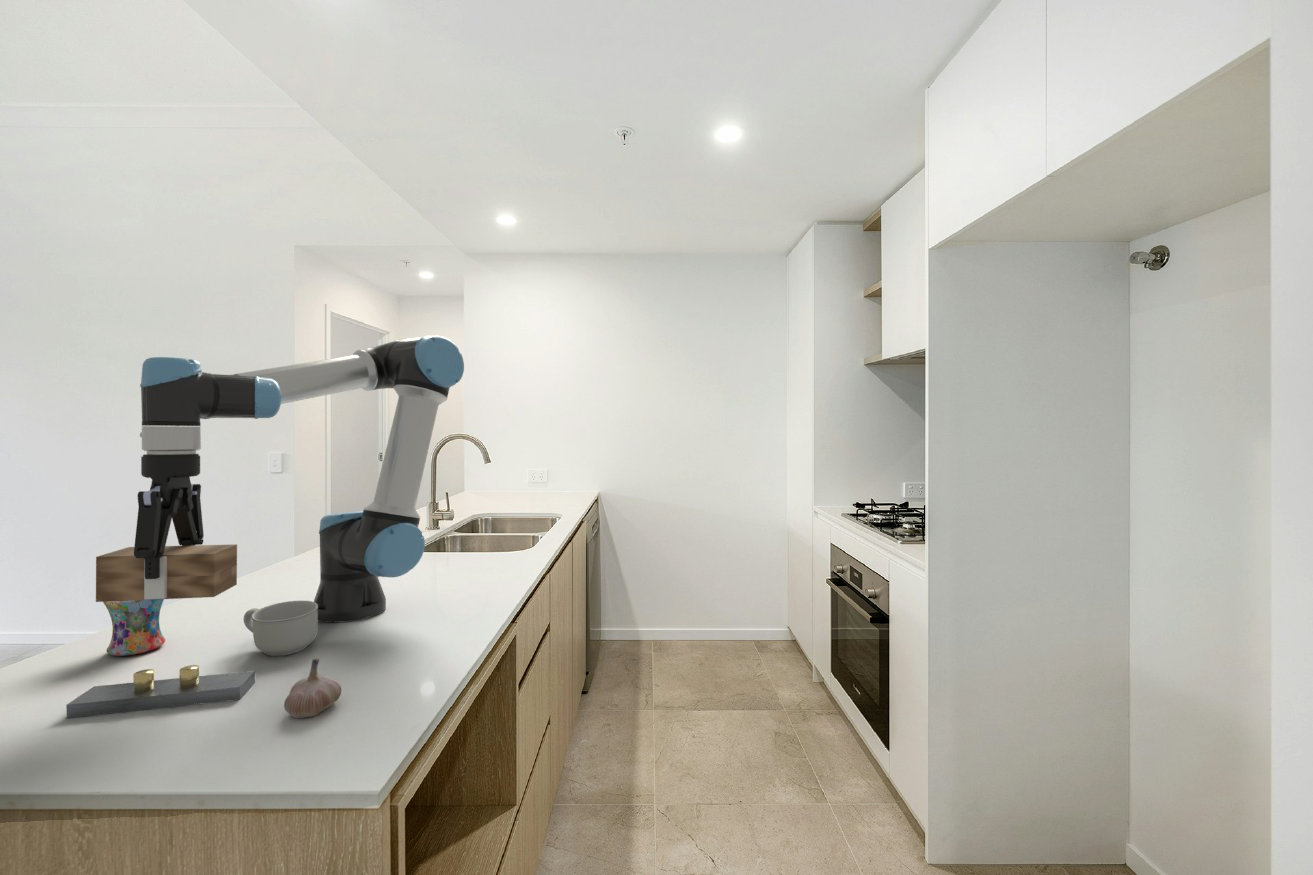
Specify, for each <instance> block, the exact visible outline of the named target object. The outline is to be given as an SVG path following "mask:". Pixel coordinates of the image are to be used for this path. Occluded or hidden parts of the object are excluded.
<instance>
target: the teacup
mask: <svg viewBox="0 0 1313 875" xmlns="http://www.w3.org/2000/svg"><path fill="white" fill-rule="evenodd" d="M317 609H318V605H317V603H315V602H314V601H312V600H289V601H284V602H277V603H274V604H270V605H267V606H264V607H262V608H258V607H257V608H256V607H255V608H253V607H252V608H251V609H249V610H247V611H246V612H245V613H244V615H243V623H244V626H245V628H246V629H247V630H248V631H249V632H250V633H252V636H253V642H254V646H255V647H256V649H257V650H259V651H260V652H262V653H264V654H266V655H268V656H272V657H282V656H287V655H292V654H295V653H298V652H301V651H303V650H305V649H306V648H307V646H309V645H310V644H311V643H312V642H313V641H314V640H315V638H316V636H317V634H318V628H319V625H318V624H319V623H318V622H319V621H318V612H317Z"/></svg>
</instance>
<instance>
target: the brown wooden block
mask: <svg viewBox="0 0 1313 875" xmlns="http://www.w3.org/2000/svg"><path fill="white" fill-rule="evenodd" d="M163 556H167V598H165V599H164V600H173V599H180V600H181V599H198V598H199V599H201V598H214V597H216V596H219V595H221V594H222V593H224V592H226V591H227V590H230V589H231V588H233V587H235V586H237V585H238V584H237V582H238V581H237V580H238V576H237V575H238V563H237V562H238V544H237V543H236V544H235V543H234V544H202V545H192V546H182V545H165V550H164V554H163ZM95 557H96V558H95V603H103V602H108V601H132V600H144V558H136V557H135V556H134V546H128V547H124V548H122V549H121V548H120V549H118V550H115V551H111V552H107V553H105V554H101V555H98V556H95ZM145 600H156V599H145Z"/></svg>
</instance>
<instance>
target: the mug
mask: <svg viewBox="0 0 1313 875" xmlns="http://www.w3.org/2000/svg"><path fill="white" fill-rule="evenodd" d="M164 600H165V599H156V600H132V601H108V602H102V603H103V604H104V606H105V607H106V609H107V611H108V614H109V616H110V619H111V625H112V631H111V632H112V633H111V639H110V642H109V645H108V646H107V649H106V650H105V651H106V653H107V654H109V655H111V656H119V657H120V656H122V657H123V656H124V657H125V656H134V655H139V654H143V653H147V652H150V651H153V650H155V649H157V648H159V647H161V646H162V645H164V644H165V643H166V638H165V637H164V635H163V633H162V630H161V627H160V626H161V625H160V613H161V610H162V606H163V604H164V602H165V601H164Z"/></svg>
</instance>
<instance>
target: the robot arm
mask: <svg viewBox="0 0 1313 875" xmlns="http://www.w3.org/2000/svg"><path fill="white" fill-rule="evenodd" d="M464 371H465V361H464V357H463V354H462V353H461V352H460V349H459V347H458V346H457V345H456V343H454V342H453V341H452V340H450V339H449V338H447V337H445V336H441V335H428V334H427V335H424V336H421V337H413V338H405V339H404V338H403V339H398V340H393V341H389V342H387V343H382V344H380V345H376V346H373V347H372V346H371V347H367V348H362V349H357V350H355V351H354V353H352V354H351V355H346V356H340V357H334V358H329V359H328V358H327V359H322V360H316V361H315V360H314V361H309V362H303V363H297V364H295V363H294V364H290V365H283V366H277V367H271V368H263V369H257V370H252V371H244V372H239V373H234V374H219V373H218V374H217V373H210V372H209V373H207V372H203V370H202V367H201V363H200V361H198V360H196V359H192V358H191V359H189V358H183V357H171V356H170V357H168V356H167V357H166V356H155V357H154V356H153V357H148V358H146V359H145V360H144V361H143V362H142V368H141V379H140V385H139V386H140V387H139V388H140V394H141V397H140V398H141V399H140V400H141V431H140V433H139V437H140V438H141V450H142V451H144V452H146V453H145V454H143V455H142V456H140V458H141V460H140V461H141V464H140V466H141V467H140V468H141V469H140V472H141V473H140V474H141V476H142V477H143V478H147V479H149V478H150V479H151V484H150V487H149V490H147V491H146V490H145V491H140V490H139V491H138V492H137V503H138V508H137V518H136V520H137V521H136V526H135V527H136V529H135V536H134V537H135V540H134V546H133V547H134V556H135V557H136V558H144V600H145V599H164V600H166V599H165V598H167V556H163V554H164V550H165V546H167V545H166V544H167V540H168V536H169V531H170V527H171V524H172V523H173V528H174V530H175V534H176V538H177V542H178V546H192V545H204V544H203V543H204V536H205V535H204V526H203V525H204V524H203V516H202V514H203V512H202V504H201V503H202V502H201V501H202V500H201V494H202V493H201V492H202V490H201V489H202V485H201V484H200V483H193V484H192V482H191V477H197V476H199V475H200V474H201V455H200V454H199V453H197V451H200V450H201V449H202V445H201V444H202V441H201V439H202V438H201V427H202V426H201V419H202V420H207V419H208V420H209V419H254V420H257V419H271V418H273V417H275V416H276V415H278V412H279V411H280V408H281V405H283V404H287V403H293V402H298V401H303V400H304V401H305V400H308V399H314V398H318V397H324V396H328V395H334V394H338V393H343V392H348V391H354V390H358V389H362V390H364V391H367V392H370V391H375V390H381V389H382V390H385V389H393V390H394V391H395V393H396V394H397V397H398V398H397V404H396V407H395V412H394V415H393V416H394V417H393V420H392V424H391V427H390V432H389V436H388V440H387V445H386V449H385V453H384V457H383V460H382V465H381V469H380V472H379V478H378V482H377V485H376V489H375V493H374V494H375V495H374V497H373V501H372V502H371V503H370V504H368V505H367V506H365V507H363V510H358V511H348V512H340V513H332V514H326V515H324V516H323V517H321V519H320V522H319V530H318V534H319V566H320V567H319V569H320V570H319V571H320V572H319V574H320V581H319V586H318V588H317V590H316V594H315V595H314V600H313V602H315V603H317V605H318V609H317V612H318V622H321V623H344V622H345V623H346V622H352V621H359V620H363V619H368V618H370V617H374V616H376V615H378V614H381V613H382V612H384V611H385V610H386V609H387V599H386V595H385V592H384V590H383V587H382V585H381V581H380V578H398V577H401V576H404V575H406V574H408V573H409V572H410V571H411V570H413V569H414V568H415V567H416V566H417V565H418V563H419V562H420V561H421V559H422V557H423V554H424V552H425V547H426V545H425V544H426V542H425V540H426V539H425V537H424V535H423V532H422V530H421V529H420V528H419V524H420V520H421V516H420V514H419V513H418V512H417V509H416V505H417V502H418V497H419V492H420V488H421V484H422V480H423V476H424V470H425V467H426V466H425V465H426V461H427V458H428V457H427V456H428V454H429V449H430V448H429V447H430V445H431V440H432V436H433V431H434V428H435V427H434V426H435V422H436V418H437V414H438V413H437V412H438V410H439V406H440V405H442V404H443V403H444V402H446V401H447V400H448V396H449V392H450V388H451V387H453V386H455V385H457V383H459V382H460V381H461V379H462V378H463V375H464ZM379 577H380V578H379Z"/></svg>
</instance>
